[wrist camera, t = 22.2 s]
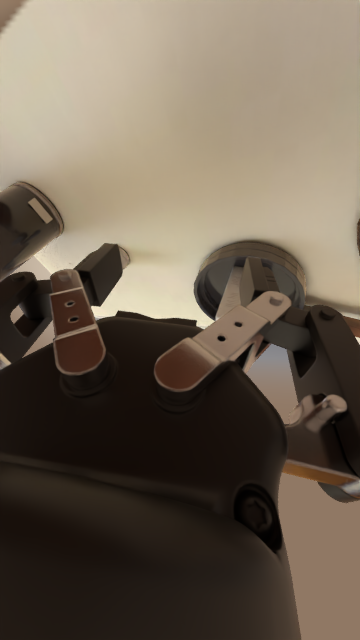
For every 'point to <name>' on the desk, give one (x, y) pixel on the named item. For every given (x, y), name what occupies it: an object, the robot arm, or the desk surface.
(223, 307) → the small box
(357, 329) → the pan handle
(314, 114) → the desk surface
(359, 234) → the wood slice
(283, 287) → the pan
